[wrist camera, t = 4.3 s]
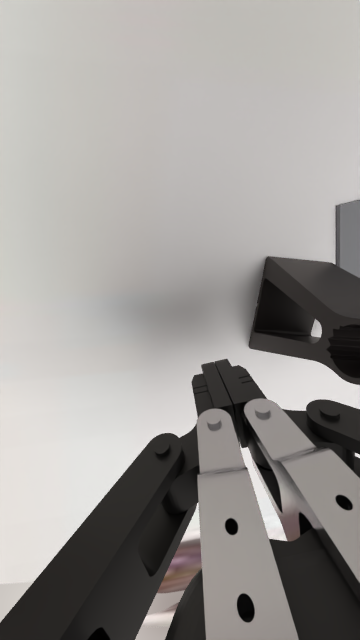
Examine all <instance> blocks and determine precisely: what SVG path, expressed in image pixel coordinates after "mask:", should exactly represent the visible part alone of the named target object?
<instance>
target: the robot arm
mask: <svg viewBox="0 0 360 640" xmlns="http://www.w3.org/2000/svg"><path fill="white" fill-rule="evenodd" d="M201 367H202V371H203V374H199V375H194V377H193V380H192V387H193V393H194V398H195V404H196V409H197V415H198V419H197V423H196V426H195V427H194V428H193V429H192V430H191V431H190V432H189V433H187V434H186V435H184V436H182V437H180V438H178V437H177V436H176V435H174V434H172V433H164V434H160V435H158V436H156V437H155V438H153V439H152V440H151V441H150V442H149V443H148V445H147V446H146V447H145V448H144V449H143V451H142V452H141V453H140V454H139V456H138V457H137V458H136V459H135V460H134V462H133V463H132V464H131V465H130V466H129V468H128V469H127V470H126V471H125V472H124V474H123V475H122V476H121V477H120V479H119V480H118V481H117V482H116V483H115V485H114V486H113V487H112V488H111V489H110V491H109V492H108V493H107V494H106V495H105V497H104V498H103V499H102V500H101V502H100V503H99V504H98V505H97V506H96V508H95V509H94V510H93V511H92V512H91V514H90V515H89V516H88V517H87V518H86V520H85V521H84V522H83V523H82V524H81V526H80V527H79V528H78V529H77V531H76V532H75V533H74V534H73V535H72V537H71V538H70V539H69V540H68V541H67V543H66V544H65V545H64V546H63V547H62V549H61V550H60V551H59V552H58V554H57V555H56V556H55V557H54V558H53V560H52V561H51V562H50V563H49V564H48V566H47V567H46V568H45V569H44V570H43V572H42V573H41V574H40V575H39V576H38V578H37V579H36V580H35V581H34V583H33V584H32V585H31V586H30V587H29V589H28V590H27V591H26V592H25V593H24V595H23V596H22V597H21V598H20V600H19V601H18V602H17V603H16V604H15V606H14V607H13V608H12V609H11V610H10V612H9V613H8V614H7V615H6V616H5V618H4V619H3V620H2V621H1V623H0V640H135V638H136V636H137V634H138V631H139V629H140V627H141V625H142V623H143V621H144V619H145V617H146V614H147V612H148V610H149V608H150V606H151V604H152V602H153V599H154V597H155V595H156V593H157V591H158V589H159V587H160V585H161V582H162V580H163V578H164V576H165V574H166V572H167V570H168V567H169V565H170V563H171V561H172V559H173V557H174V555H175V553H176V550H177V548H178V546H179V544H180V542H181V540H182V538H183V535H184V533H185V531H186V529H187V527H188V525H189V523H190V521H191V518H192V516H193V514H194V512H195V509H196V506H197V503H198V502H199V519H200V537H201V556H202V569H200V570H199V572H198V573H197V574H196V575H195V576H194V578H193V579H192V580H191V582H190V584H189V585H188V587H187V588H186V590H185V592H184V594H183V596H182V598H181V600H180V602H179V604H178V607H177V609H176V612H175V614H174V617H173V620H172V622H171V625H170V628H169V630H168V633H167V636H166V639H165V640H360V458H358V457H356V456H355V453H358V454H360V409H356V408H353V407H350V406H347V405H344V404H341V403H338V402H334V401H330V400H315V401H312V402H310V403H309V404H308V405H307V407H306V411H292V410H284V409H281V408H280V406H279V405H278V404H276V403H275V402H273V401H271V400H268V399H267V398H266V397H265V395H264V394H263V393H262V391H261V390H260V388H259V387H258V386H257V384H256V383H255V381H254V380H253V379H252V377H251V376H250V374H249V373H248V372H247V370H246V369H244V368H243V367H241V366H239V365H238V366H233V367H232V366H231V364H230V363H229V361H228V359H224V360H219V361H215V362H211V363H207V364H202V365H201ZM239 442H240V443H239ZM240 444H241V447H242V448H245V447H248V448H249V450H250V453H251V456H252V462H253V466H254V468H255V470H256V472H257V474H258V476H259V478H260V480H261V482H262V484H263V486H264V488H265V490H266V492H267V494H268V496H269V498H270V500H271V502H272V505H273V507H274V509H275V511H276V513H277V515H278V517H279V519H280V521H281V524H282V526H283V529H284V532H285V535H286V538H287V541H281V540H273V539H269V538H268V535H267V531H266V528H265V525H264V521H263V518H262V515H261V511H260V508H259V505H258V501H257V498H256V494H255V491H254V488H253V484H252V481H251V478H250V475H249V472H248V469H247V467H246V466H245V463H244V460H243V456H242V453H241V450H240Z"/></svg>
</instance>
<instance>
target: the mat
mask: <svg viewBox="0 0 360 640" xmlns="http://www.w3.org/2000/svg"><path fill="white" fill-rule="evenodd" d="M336 266H338V267H340V268H342V269H344V270H346V271H347V272H349V273H351V274H353V275H355V276H357V277H358V278H360V200H357V201H353V202H349V203H345V204H341V205H338V206H336Z"/></svg>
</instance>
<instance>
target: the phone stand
mask: <svg viewBox="0 0 360 640" xmlns="http://www.w3.org/2000/svg"><path fill="white" fill-rule="evenodd" d="M257 303H258V306H257V307H256V312H255V317H254V322H253V327H252V332H251V337H250V342H249V348H250V349H255V350H260V351H266V352H271V353H276V354H282V355H287V356H292V357H298V358H303V359H308V360H313V361H317V362H320V363H322V364H324V365H326V366H327V367H329V368H330V369H332V370H333V371H334V372H335V373H336V374H337V375H338V376H339V377H341V378H342V379H344V380H345V381H347V382H350V383H353V384H357V385H360V278H358V277H357V276H355V275H353V274H351V273H349V272H347V271H346V270H344V269H342V268H340V267H338V266H336V265H335V264H333V263H329V262H318V261H308V260H298V259H288V258H278V257H267V258H266V262H265V267H264V272H263V277H262V282H261V287H260V292H259V297H258V302H257ZM315 319H317V320H318V321H319V322H320V324H321V327H322V335H321V338H319V337H313V336H311V330H312V327H313V323H314V320H315Z"/></svg>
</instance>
